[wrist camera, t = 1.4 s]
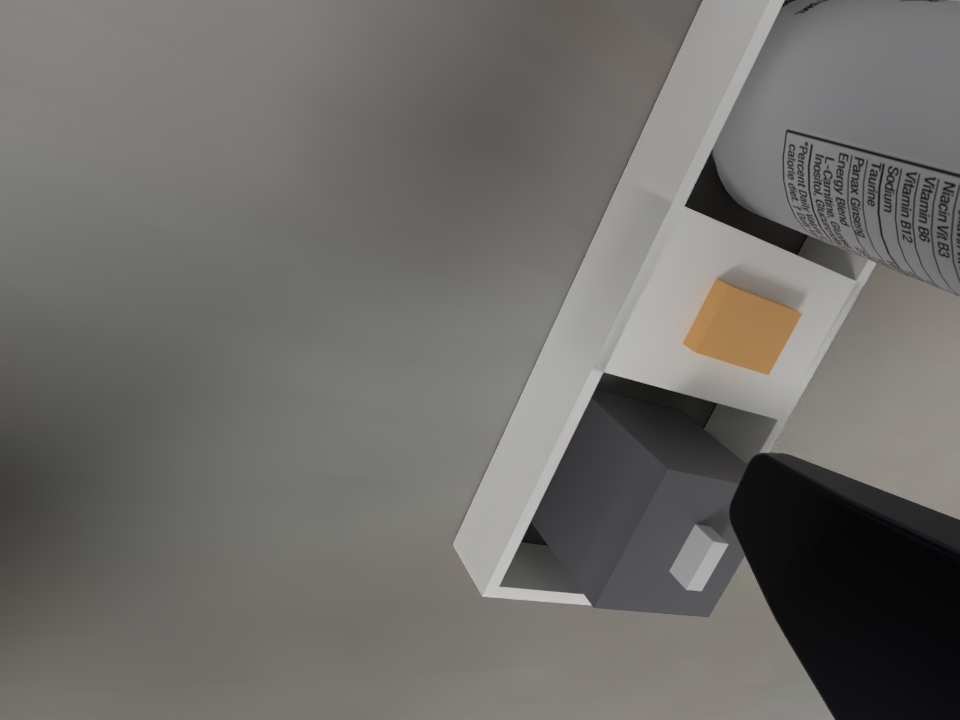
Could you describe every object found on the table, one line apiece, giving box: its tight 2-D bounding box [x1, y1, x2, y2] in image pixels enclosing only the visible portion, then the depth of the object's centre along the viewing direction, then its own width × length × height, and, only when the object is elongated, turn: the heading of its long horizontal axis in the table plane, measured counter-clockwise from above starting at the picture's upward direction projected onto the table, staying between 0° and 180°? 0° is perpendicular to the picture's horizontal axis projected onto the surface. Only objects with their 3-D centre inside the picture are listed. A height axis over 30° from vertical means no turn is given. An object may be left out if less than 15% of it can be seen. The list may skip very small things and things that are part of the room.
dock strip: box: [453, 0, 960, 605], centre depth 23 cm, size 20×8×3 cm, turn 155°
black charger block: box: [531, 389, 747, 617], centre depth 24 cm, size 4×4×6 cm
